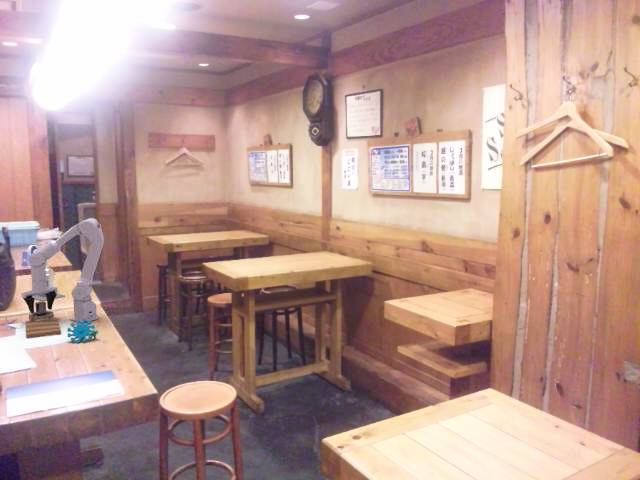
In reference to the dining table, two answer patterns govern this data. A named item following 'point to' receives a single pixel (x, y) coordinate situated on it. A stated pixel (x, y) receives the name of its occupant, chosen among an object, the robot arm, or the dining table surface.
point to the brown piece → (42, 325)
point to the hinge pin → (40, 308)
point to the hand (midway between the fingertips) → (41, 311)
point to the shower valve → (43, 297)
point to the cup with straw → (49, 276)
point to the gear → (82, 331)
